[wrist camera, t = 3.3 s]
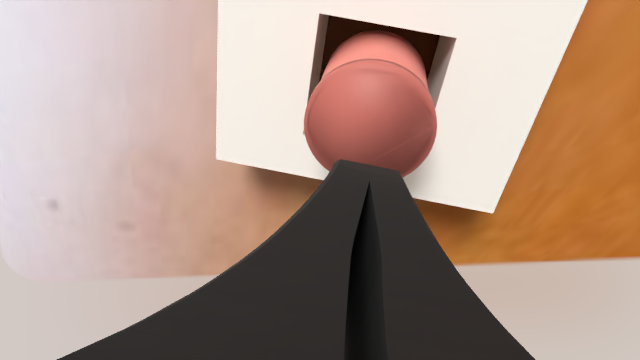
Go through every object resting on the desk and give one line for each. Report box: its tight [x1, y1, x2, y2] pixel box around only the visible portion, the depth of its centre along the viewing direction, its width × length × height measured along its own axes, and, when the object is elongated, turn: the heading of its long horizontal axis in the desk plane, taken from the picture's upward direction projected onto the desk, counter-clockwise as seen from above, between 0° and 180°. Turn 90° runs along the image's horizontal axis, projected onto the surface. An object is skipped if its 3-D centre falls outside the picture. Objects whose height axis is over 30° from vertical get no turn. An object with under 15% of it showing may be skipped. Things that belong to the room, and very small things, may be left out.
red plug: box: [304, 30, 437, 177], centre depth 15 cm, size 4×4×4 cm
